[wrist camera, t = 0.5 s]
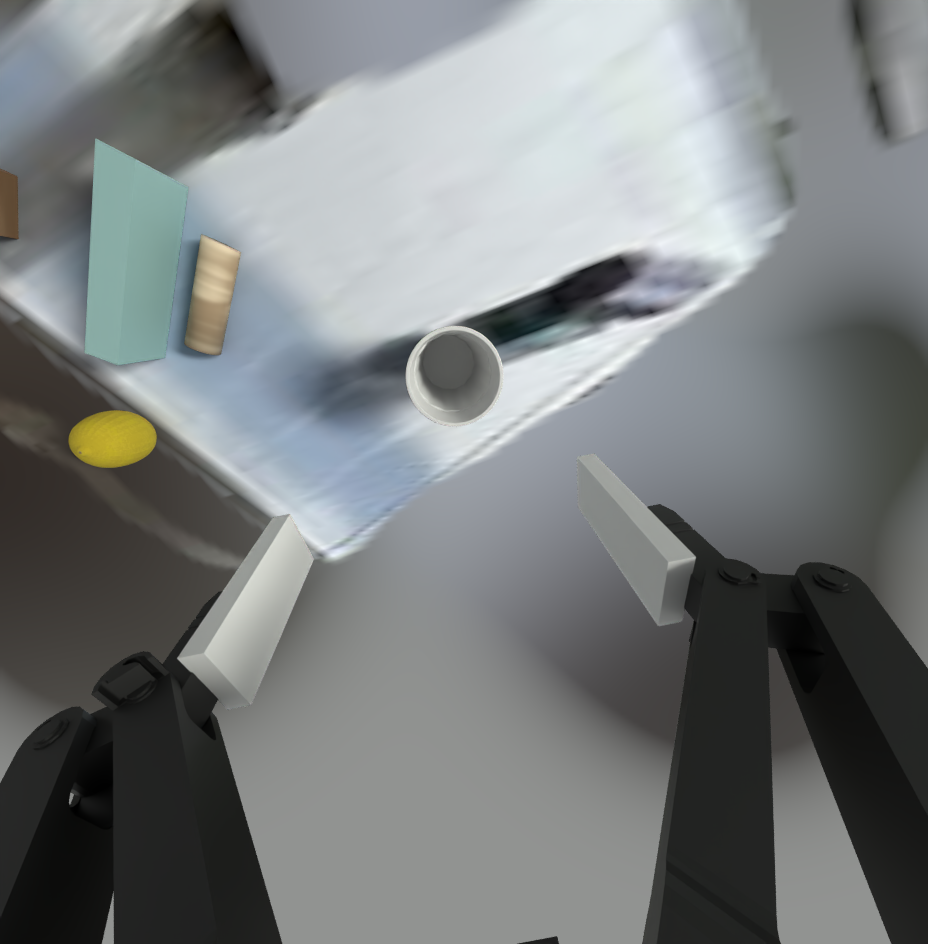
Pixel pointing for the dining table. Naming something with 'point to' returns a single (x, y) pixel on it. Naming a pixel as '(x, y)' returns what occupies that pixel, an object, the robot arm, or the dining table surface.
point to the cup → (454, 376)
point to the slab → (8, 204)
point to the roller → (211, 296)
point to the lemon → (112, 439)
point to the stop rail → (131, 258)
